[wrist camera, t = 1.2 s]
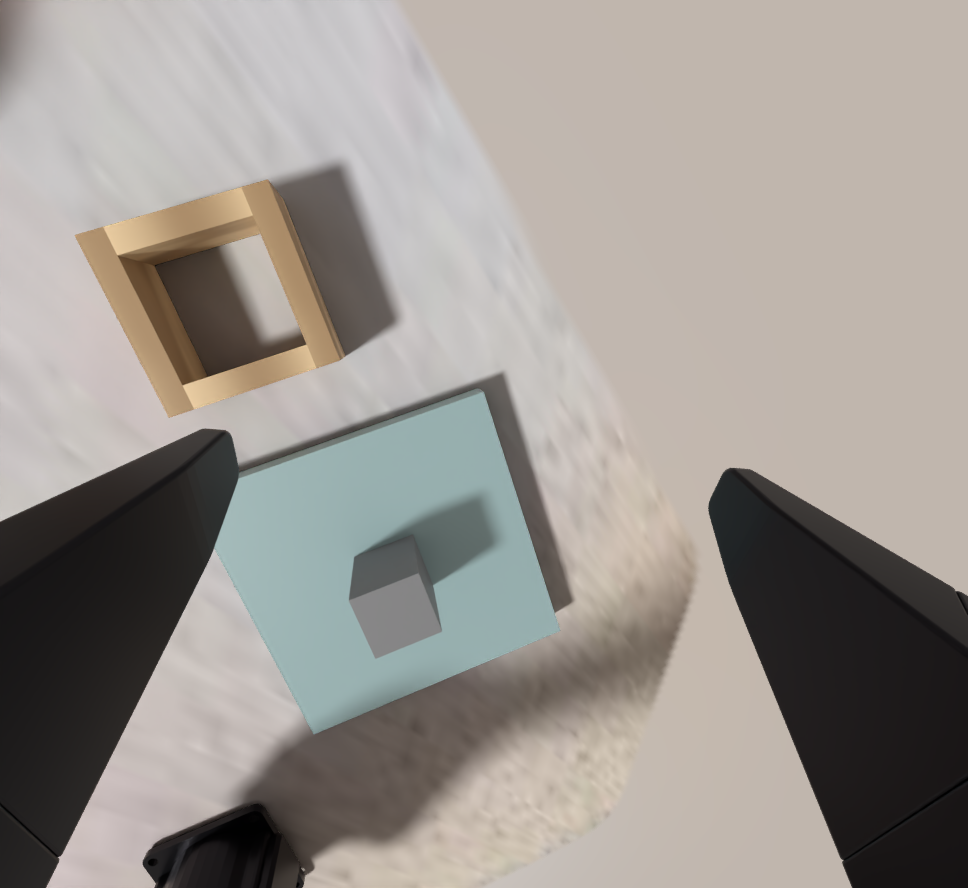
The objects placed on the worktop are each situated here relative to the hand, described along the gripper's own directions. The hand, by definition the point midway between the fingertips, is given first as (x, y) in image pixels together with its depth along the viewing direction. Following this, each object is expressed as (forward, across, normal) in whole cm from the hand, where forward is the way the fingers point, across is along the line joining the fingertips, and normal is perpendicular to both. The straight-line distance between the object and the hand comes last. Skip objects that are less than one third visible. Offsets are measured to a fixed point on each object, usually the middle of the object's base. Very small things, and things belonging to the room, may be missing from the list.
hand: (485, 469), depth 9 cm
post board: (+11, +3, +14) cm, 18 cm away
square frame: (+14, +10, +3) cm, 18 cm away
